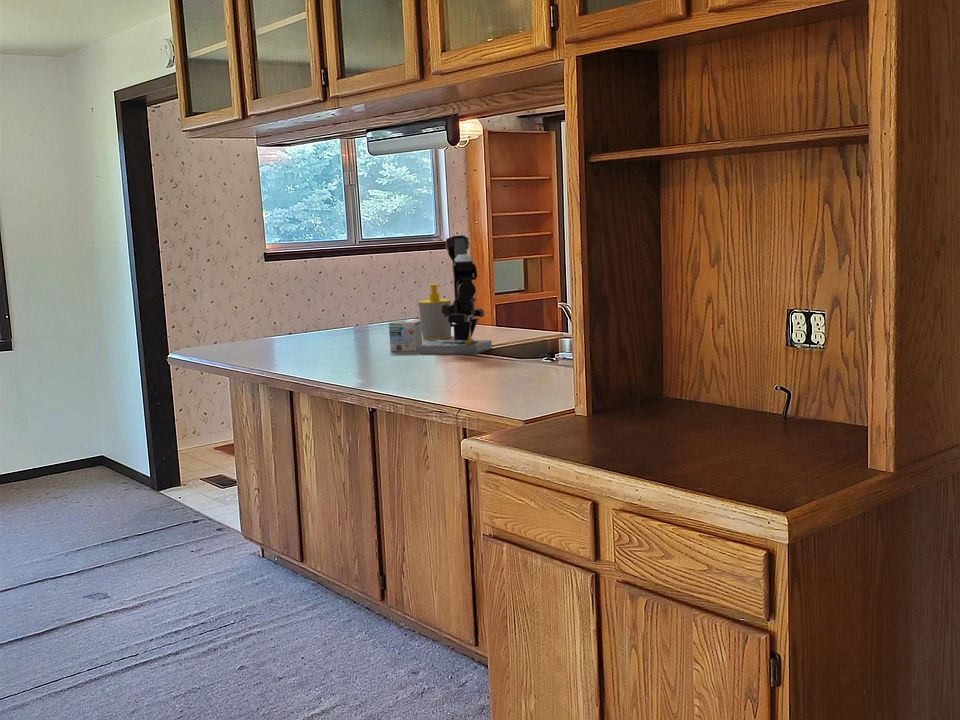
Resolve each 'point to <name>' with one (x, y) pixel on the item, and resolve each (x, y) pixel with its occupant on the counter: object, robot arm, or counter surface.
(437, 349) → the keyhole plate
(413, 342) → the light bulb box
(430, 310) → the soap bottle
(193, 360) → the counter surface
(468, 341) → the headed peg
